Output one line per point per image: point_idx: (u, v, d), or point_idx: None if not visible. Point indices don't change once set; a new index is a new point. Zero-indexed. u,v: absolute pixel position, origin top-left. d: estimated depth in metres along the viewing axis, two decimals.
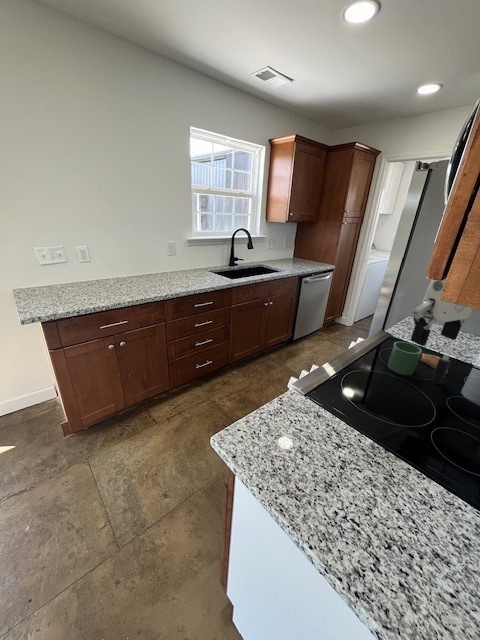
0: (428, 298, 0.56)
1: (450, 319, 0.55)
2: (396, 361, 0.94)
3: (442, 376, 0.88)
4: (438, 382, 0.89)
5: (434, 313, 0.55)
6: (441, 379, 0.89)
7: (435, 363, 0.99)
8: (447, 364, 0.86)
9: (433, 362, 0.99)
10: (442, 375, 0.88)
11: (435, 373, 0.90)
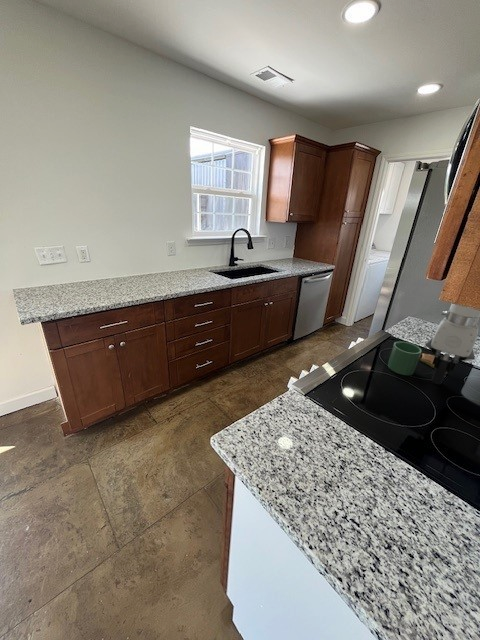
0: None
1: (442, 349, 0.85)
2: (396, 361, 0.94)
3: (442, 376, 0.88)
4: (438, 382, 0.89)
5: (431, 341, 0.87)
6: (441, 379, 0.89)
7: None
8: (447, 364, 0.86)
9: None
10: (442, 375, 0.88)
11: (435, 373, 0.90)
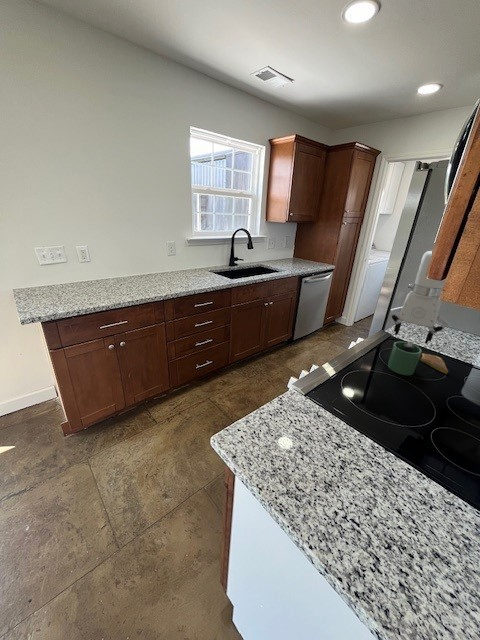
0: None
1: (409, 321, 0.89)
2: (396, 361, 0.94)
3: None
4: None
5: (400, 314, 0.91)
6: None
7: (435, 363, 0.99)
8: (410, 350, 0.93)
9: (433, 362, 0.99)
10: None
11: None
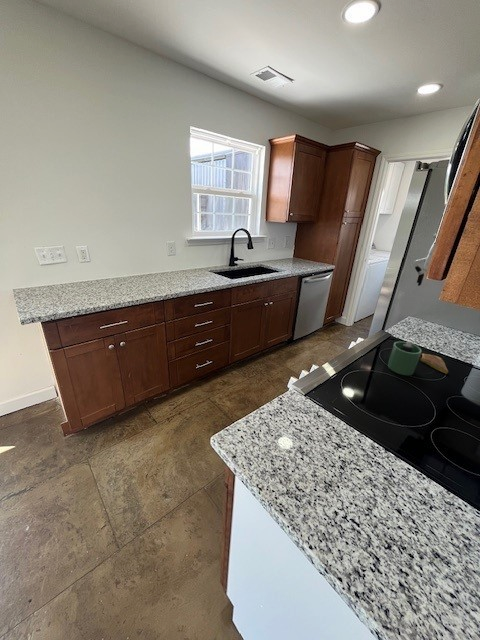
0: None
1: None
2: (396, 361, 0.94)
3: None
4: None
5: None
6: None
7: (435, 363, 0.99)
8: (409, 350, 0.93)
9: (433, 362, 0.99)
10: None
11: None
